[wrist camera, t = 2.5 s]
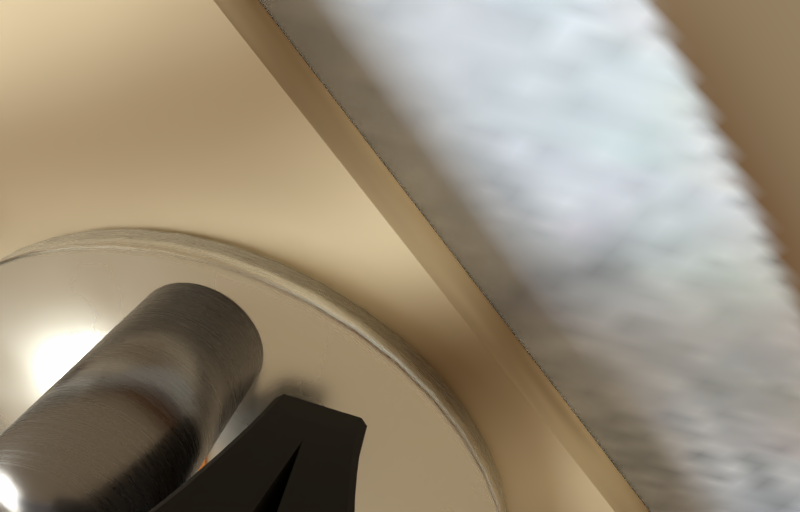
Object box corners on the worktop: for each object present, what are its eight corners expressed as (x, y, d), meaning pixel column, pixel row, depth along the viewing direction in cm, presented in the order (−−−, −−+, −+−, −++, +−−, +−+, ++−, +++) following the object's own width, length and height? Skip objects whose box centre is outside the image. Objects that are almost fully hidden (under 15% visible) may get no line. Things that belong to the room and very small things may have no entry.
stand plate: (750, 643, 16) (785, 767, 14) (290, 749, 23) (261, 845, 20) (22, -308, 10) (-137, -378, 8) (-316, 214, 17) (-457, 262, 14)
